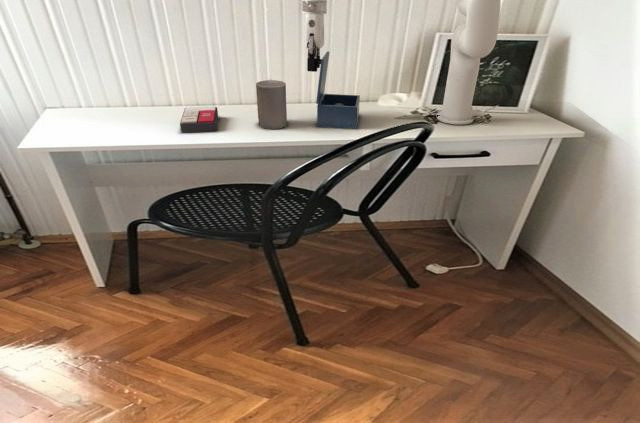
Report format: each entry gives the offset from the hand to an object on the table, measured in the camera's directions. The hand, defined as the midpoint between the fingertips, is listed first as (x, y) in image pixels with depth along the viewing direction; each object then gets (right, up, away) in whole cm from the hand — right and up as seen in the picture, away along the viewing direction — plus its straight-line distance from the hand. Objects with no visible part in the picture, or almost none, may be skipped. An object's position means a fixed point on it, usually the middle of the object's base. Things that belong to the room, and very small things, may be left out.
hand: (313, 68), depth 134 cm
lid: (+3, -2, +1) cm, 4 cm away
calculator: (-38, -18, +3) cm, 42 cm away
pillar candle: (-14, -18, +4) cm, 23 cm away
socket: (+9, -15, +7) cm, 19 cm away
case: (+9, -15, +8) cm, 19 cm away
